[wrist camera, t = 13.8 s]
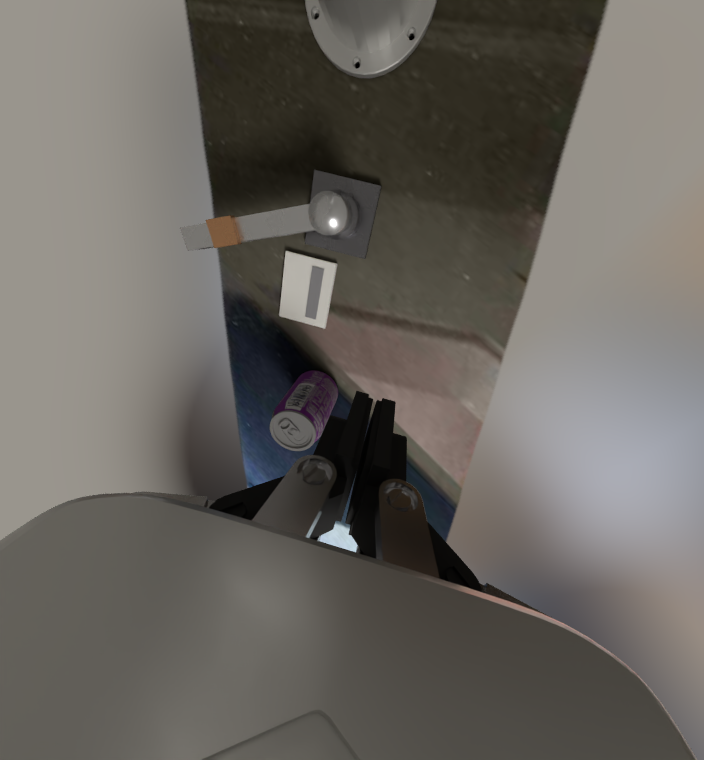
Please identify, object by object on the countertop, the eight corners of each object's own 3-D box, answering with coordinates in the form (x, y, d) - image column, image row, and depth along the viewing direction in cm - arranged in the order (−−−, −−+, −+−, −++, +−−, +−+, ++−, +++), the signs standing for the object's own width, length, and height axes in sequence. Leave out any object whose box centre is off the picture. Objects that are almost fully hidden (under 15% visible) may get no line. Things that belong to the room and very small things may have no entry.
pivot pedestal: (316, 170, 35) (307, 165, 32) (381, 186, 35) (378, 182, 32) (306, 243, 39) (297, 244, 36) (365, 258, 39) (361, 260, 36)
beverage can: (288, 386, 50) (255, 428, 39) (315, 359, 47) (288, 398, 36) (319, 414, 51) (296, 462, 41) (348, 390, 48) (330, 435, 38)
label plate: (287, 250, 40) (285, 251, 39) (337, 263, 40) (336, 264, 39) (280, 315, 44) (278, 316, 44) (325, 327, 44) (324, 328, 43)
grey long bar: (349, 191, 32) (342, 186, 29) (354, 232, 34) (348, 232, 31) (194, 220, 36) (172, 219, 33) (205, 255, 38) (185, 258, 35)
